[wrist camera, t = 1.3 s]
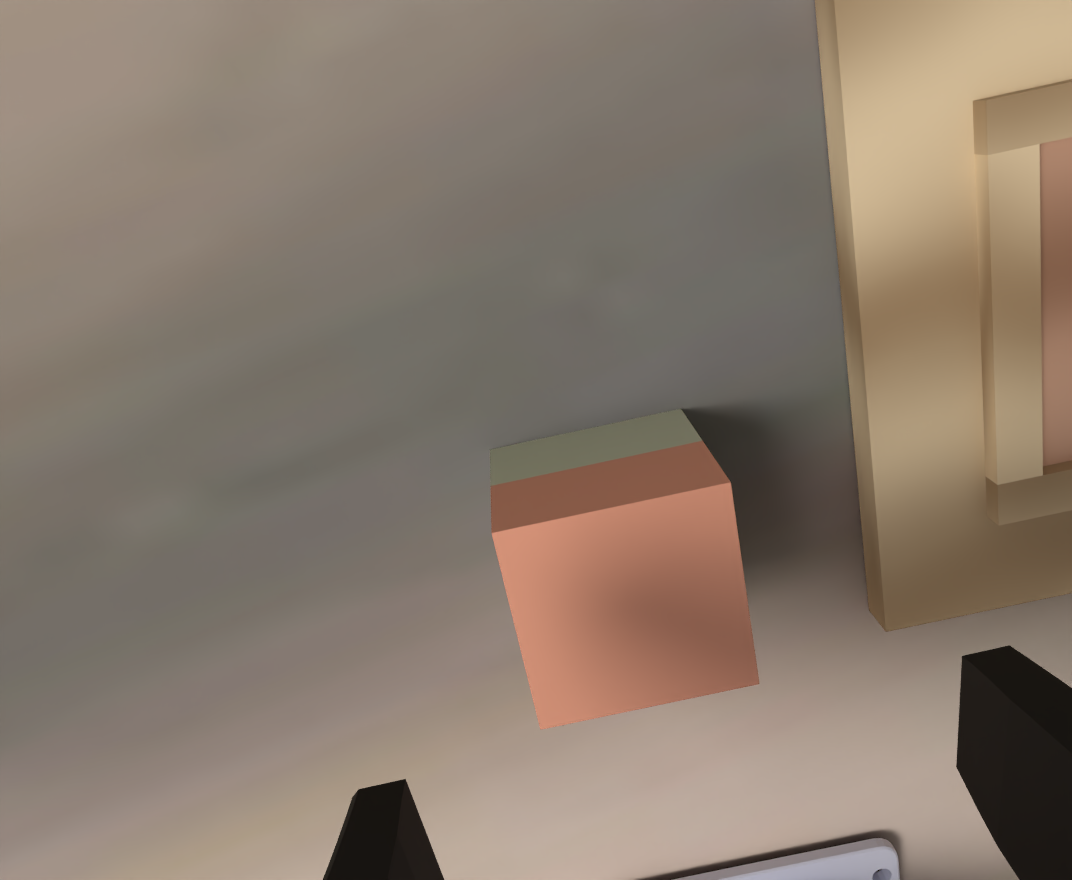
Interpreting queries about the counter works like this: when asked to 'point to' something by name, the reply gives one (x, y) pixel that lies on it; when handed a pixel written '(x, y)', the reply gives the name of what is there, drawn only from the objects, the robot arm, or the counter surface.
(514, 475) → the brick stack
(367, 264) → the counter surface
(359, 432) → the counter surface
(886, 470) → the baseplate
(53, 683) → the counter surface
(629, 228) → the counter surface
